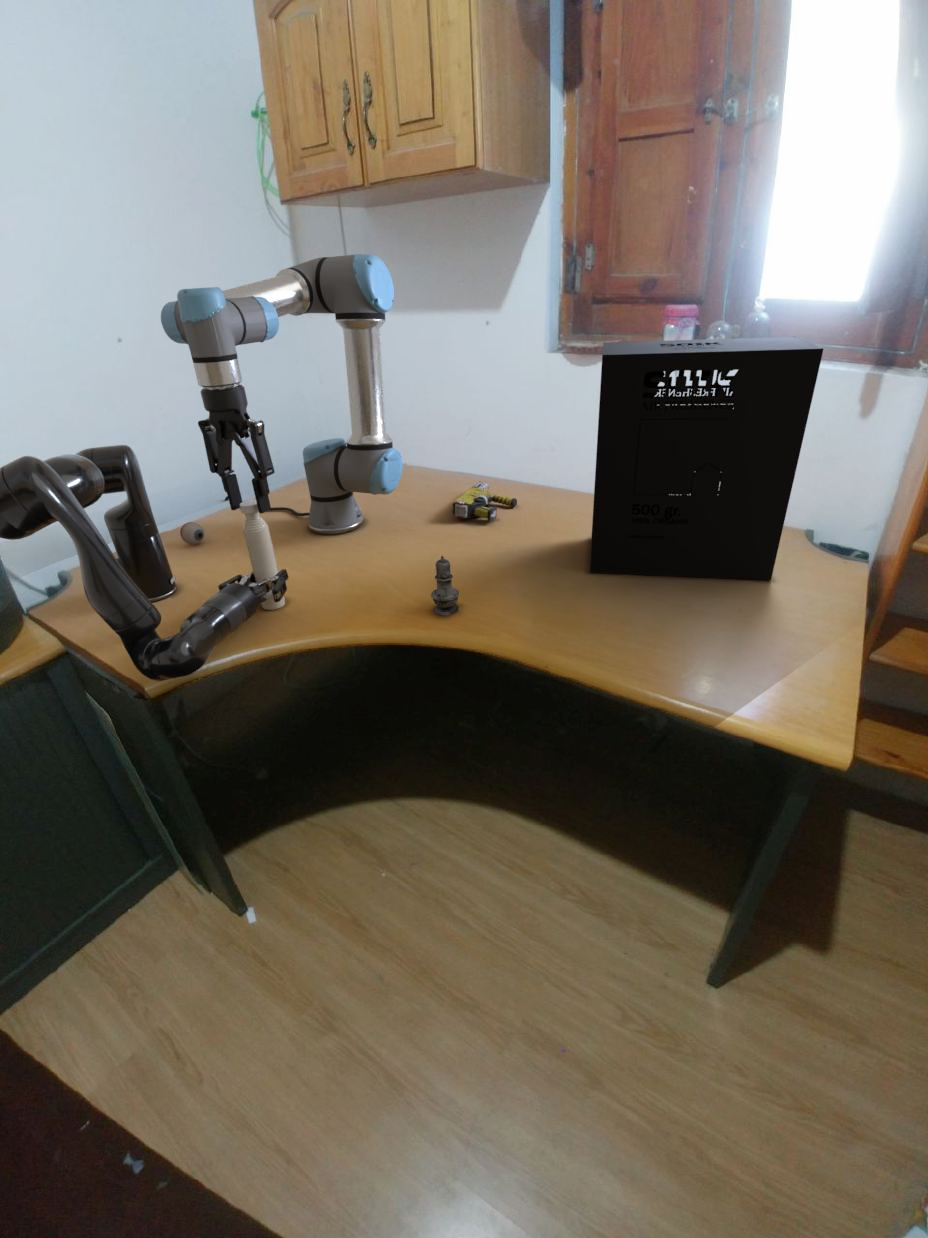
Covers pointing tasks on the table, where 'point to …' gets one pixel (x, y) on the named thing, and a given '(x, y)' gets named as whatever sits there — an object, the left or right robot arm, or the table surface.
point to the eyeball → (192, 533)
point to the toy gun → (479, 503)
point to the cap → (249, 506)
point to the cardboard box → (698, 455)
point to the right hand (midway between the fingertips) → (251, 509)
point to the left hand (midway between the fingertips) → (273, 572)
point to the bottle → (261, 553)
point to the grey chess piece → (444, 590)
